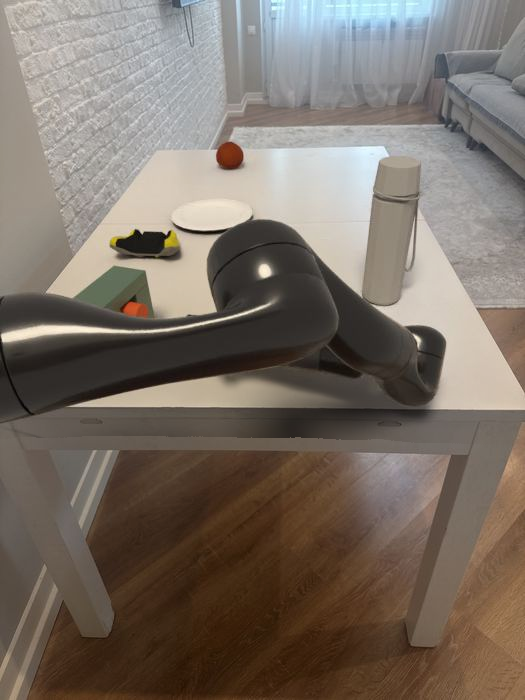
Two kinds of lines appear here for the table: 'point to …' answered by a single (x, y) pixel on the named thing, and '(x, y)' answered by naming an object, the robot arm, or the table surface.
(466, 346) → the table surface
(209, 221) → the plate
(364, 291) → the water bottle
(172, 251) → the toy running shoe
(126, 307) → the push knob
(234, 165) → the fruit
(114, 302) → the block
